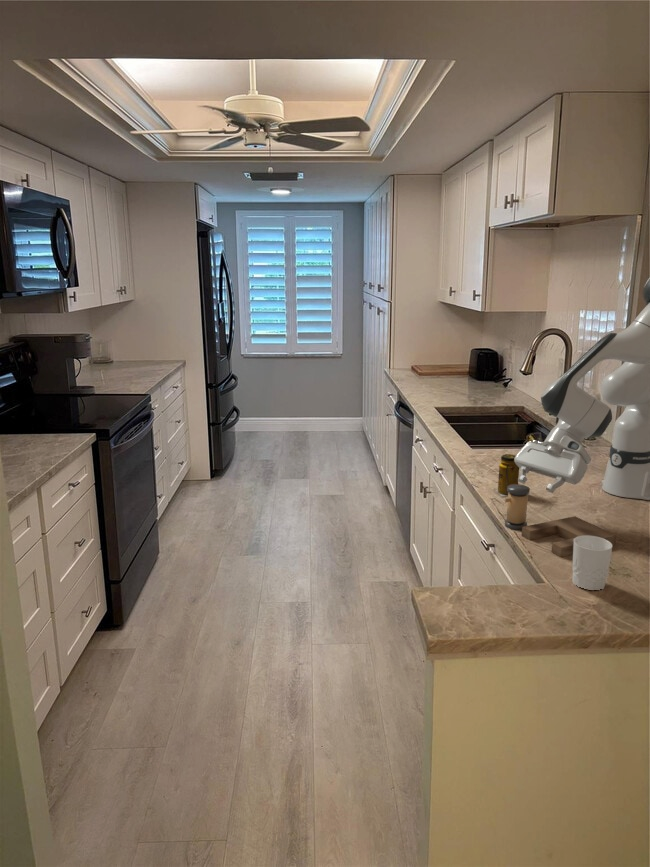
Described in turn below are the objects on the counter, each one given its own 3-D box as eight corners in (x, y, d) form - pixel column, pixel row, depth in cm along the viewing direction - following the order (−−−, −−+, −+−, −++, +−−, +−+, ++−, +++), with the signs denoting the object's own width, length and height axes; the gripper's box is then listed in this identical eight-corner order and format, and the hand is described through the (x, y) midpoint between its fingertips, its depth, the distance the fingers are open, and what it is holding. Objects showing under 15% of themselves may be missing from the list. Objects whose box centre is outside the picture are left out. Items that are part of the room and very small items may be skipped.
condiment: (493, 489, 200) (495, 453, 197) (518, 488, 201) (521, 452, 198) (501, 497, 193) (504, 460, 190) (528, 496, 194) (530, 459, 191)
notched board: (574, 524, 172) (574, 516, 171) (615, 544, 159) (616, 535, 159) (521, 535, 165) (522, 526, 164) (560, 557, 153) (561, 547, 152)
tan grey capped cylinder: (517, 520, 175) (519, 483, 173) (531, 527, 170) (534, 489, 167) (496, 524, 173) (499, 486, 170) (510, 532, 167) (513, 493, 165)
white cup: (615, 589, 137) (620, 547, 134) (585, 595, 135) (589, 552, 132) (591, 573, 144) (595, 533, 142) (562, 578, 142) (566, 537, 140)
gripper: (525, 432, 180) (500, 470, 178) (588, 447, 164) (561, 490, 161) (534, 445, 184) (509, 482, 181) (597, 461, 167) (570, 503, 164)
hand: (534, 486), depth 171 cm, fingers open, 8 cm apart
